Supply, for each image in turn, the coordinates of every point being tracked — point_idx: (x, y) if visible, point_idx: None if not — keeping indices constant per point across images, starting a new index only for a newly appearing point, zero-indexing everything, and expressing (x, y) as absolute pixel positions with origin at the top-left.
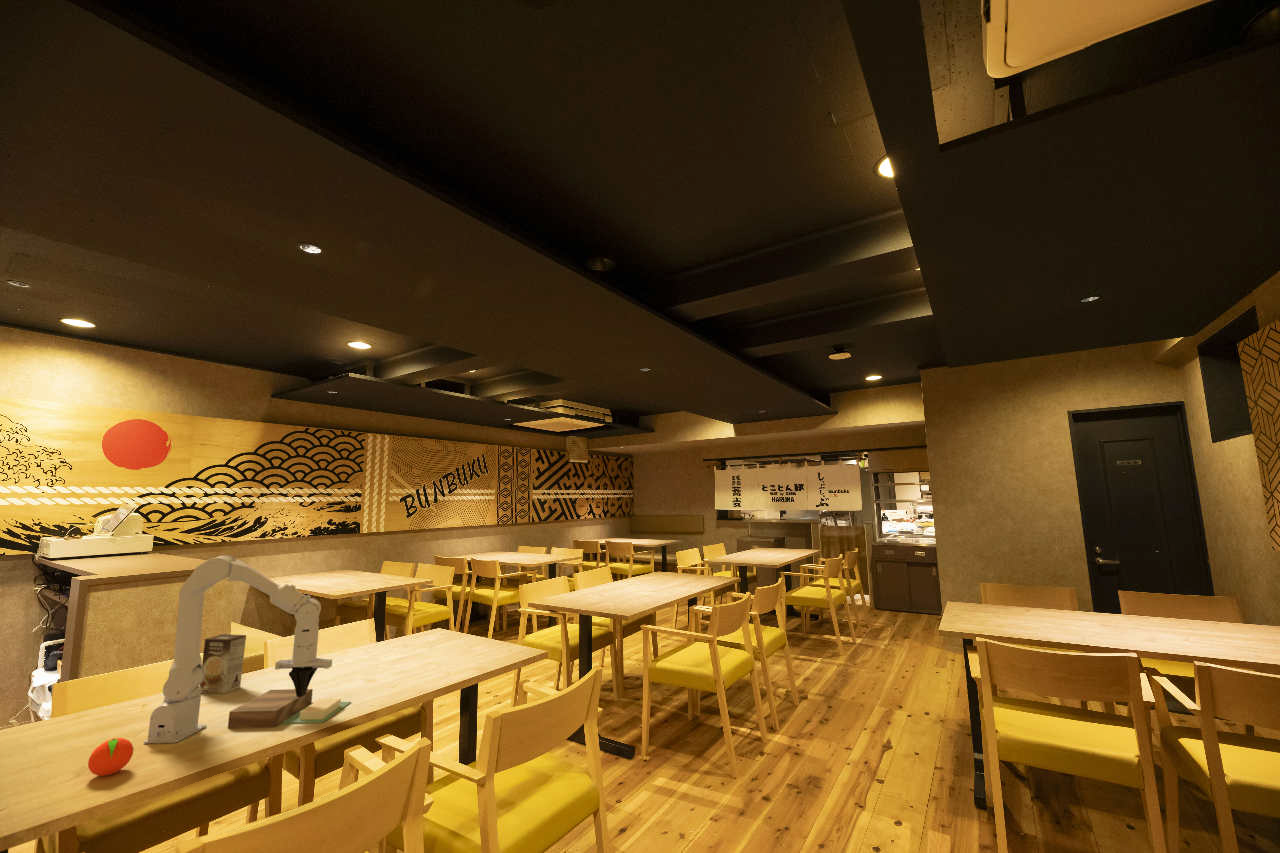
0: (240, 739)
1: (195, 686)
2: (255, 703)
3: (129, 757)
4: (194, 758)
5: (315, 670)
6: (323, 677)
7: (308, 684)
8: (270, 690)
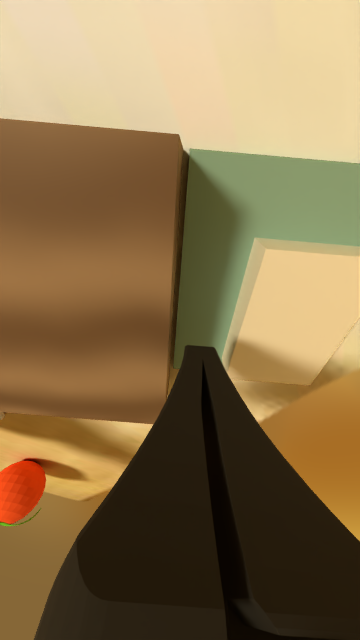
0: None
1: None
2: (10, 365)
3: (40, 486)
4: (111, 451)
5: (348, 552)
6: None
7: (235, 395)
8: None
